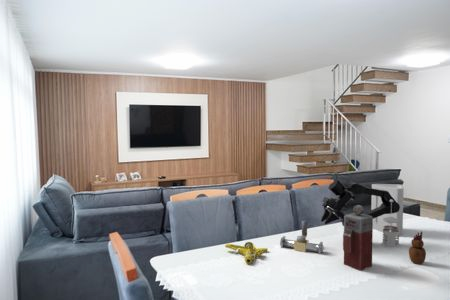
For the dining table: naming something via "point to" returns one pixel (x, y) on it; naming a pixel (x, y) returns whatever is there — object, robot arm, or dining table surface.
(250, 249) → the yellow toy airplane
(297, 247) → the valve body
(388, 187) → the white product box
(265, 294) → the dining table surface
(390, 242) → the french press
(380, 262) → the dining table surface
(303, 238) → the lever
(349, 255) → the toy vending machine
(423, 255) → the wooden figurine
